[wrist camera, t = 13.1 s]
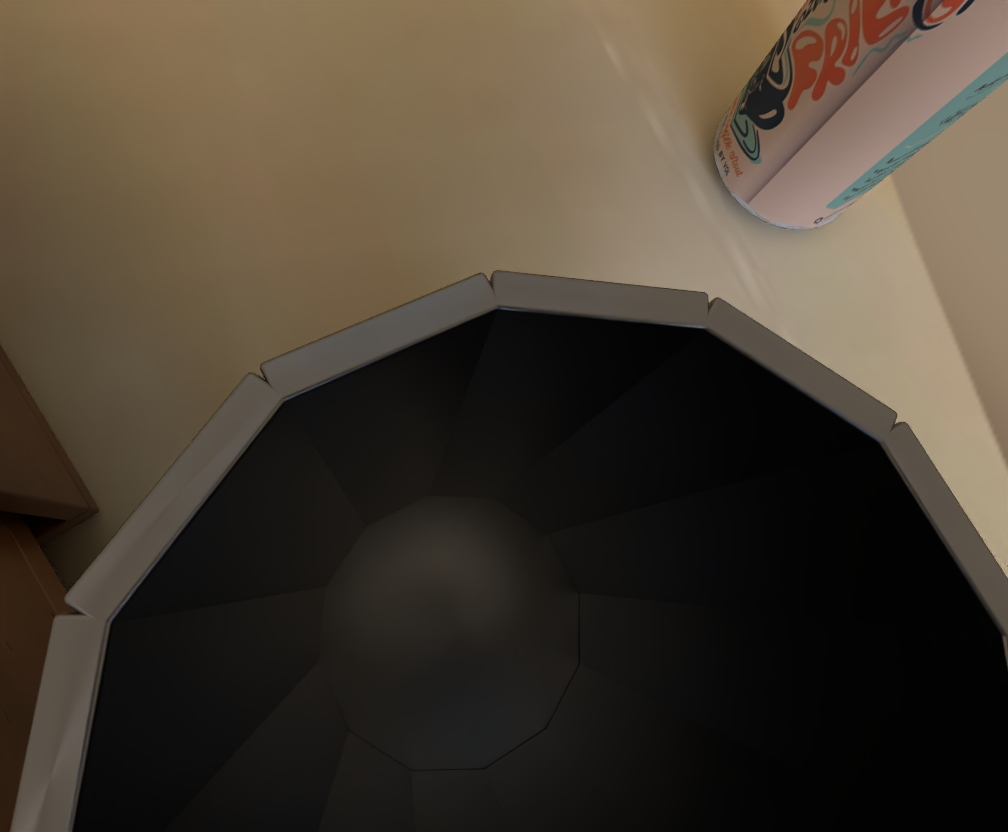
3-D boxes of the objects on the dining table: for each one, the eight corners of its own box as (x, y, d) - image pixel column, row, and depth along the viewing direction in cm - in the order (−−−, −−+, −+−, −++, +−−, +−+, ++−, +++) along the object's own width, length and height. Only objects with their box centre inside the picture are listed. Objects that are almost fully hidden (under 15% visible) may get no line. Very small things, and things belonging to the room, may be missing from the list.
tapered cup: (497, 839, 13) (884, 1864, 3) (247, 678, 13) (-343, 1087, 3) (632, 577, 15) (1163, 582, 4) (413, 436, 15) (451, 120, 4)
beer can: (728, 85, 20) (1166, -553, 9) (855, 147, 20) (1441, -392, 9) (687, 198, 19) (1141, -384, 7) (823, 263, 19) (1467, -198, 8)
